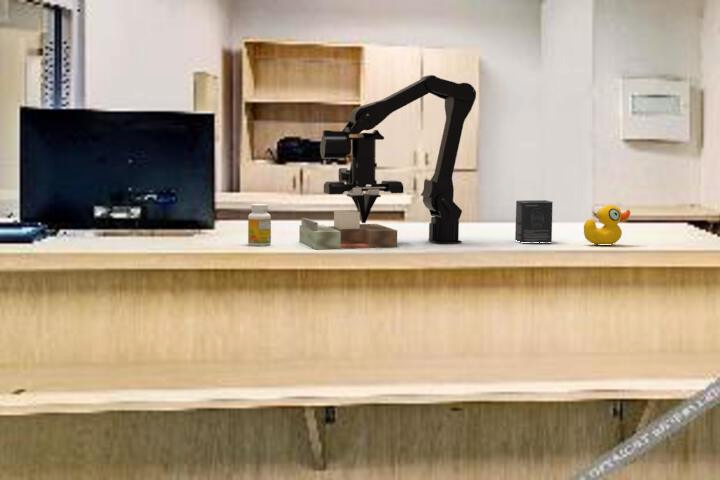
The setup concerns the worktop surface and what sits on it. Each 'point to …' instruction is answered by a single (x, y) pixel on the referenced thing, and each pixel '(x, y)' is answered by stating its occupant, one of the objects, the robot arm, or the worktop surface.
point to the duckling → (606, 226)
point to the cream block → (347, 219)
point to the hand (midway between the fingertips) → (363, 222)
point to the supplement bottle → (259, 225)
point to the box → (534, 221)
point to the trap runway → (346, 236)
